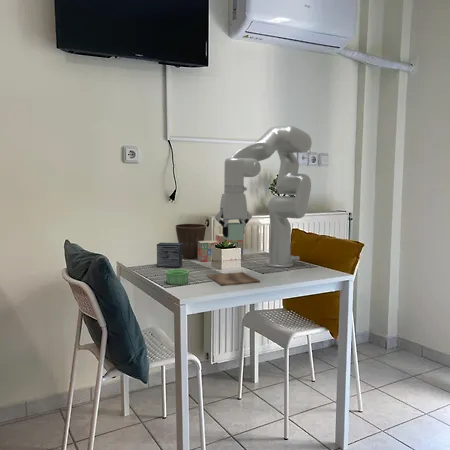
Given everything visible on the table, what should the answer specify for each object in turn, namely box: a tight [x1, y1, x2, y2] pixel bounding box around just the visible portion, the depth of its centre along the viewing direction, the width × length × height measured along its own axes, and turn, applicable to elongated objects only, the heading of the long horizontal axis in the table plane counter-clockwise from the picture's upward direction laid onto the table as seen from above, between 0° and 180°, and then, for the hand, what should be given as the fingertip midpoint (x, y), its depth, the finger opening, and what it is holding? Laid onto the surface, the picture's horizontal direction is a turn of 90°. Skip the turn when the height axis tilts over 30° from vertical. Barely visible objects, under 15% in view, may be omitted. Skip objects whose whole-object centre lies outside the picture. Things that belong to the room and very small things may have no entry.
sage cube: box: [224, 222, 245, 241], centre depth 178 cm, size 6×6×6 cm
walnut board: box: [206, 271, 261, 287], centre depth 180 cm, size 16×16×1 cm
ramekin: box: [165, 268, 190, 286], centre depth 175 cm, size 9×9×4 cm
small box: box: [156, 242, 183, 269], centre depth 203 cm, size 11×6×10 cm, turn 84°
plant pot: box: [175, 223, 207, 260], centre depth 223 cm, size 15×15×16 cm
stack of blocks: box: [197, 233, 244, 263], centre depth 219 cm, size 21×6×12 cm, turn 109°
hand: (233, 235), depth 178 cm, fingers closed on sage cube, 6 cm apart
